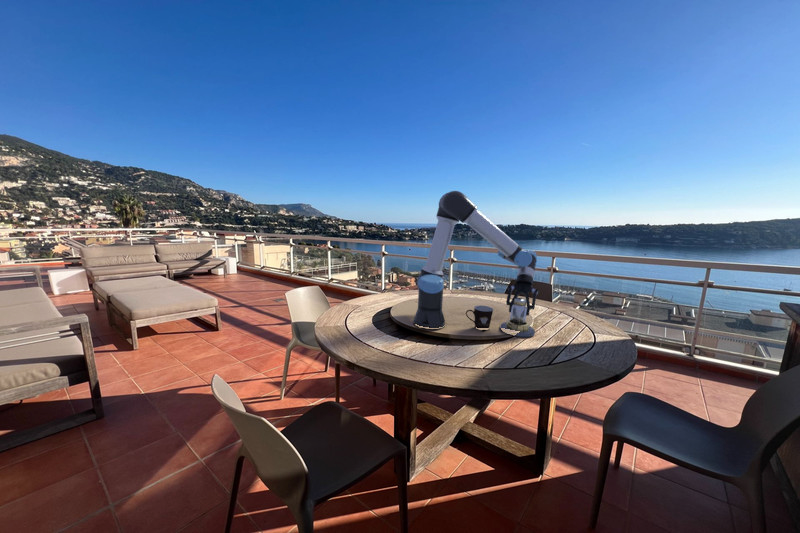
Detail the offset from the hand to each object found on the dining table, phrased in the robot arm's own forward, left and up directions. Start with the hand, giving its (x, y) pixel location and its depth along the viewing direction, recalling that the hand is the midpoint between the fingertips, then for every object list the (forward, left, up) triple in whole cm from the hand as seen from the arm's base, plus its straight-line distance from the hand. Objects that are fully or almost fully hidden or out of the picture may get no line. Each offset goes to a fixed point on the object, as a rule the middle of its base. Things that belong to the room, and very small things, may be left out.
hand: (517, 319), depth 132 cm
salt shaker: (-2, +3, -4) cm, 6 cm away
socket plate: (-2, +3, -7) cm, 8 cm away
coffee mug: (-11, -12, -7) cm, 18 cm away
